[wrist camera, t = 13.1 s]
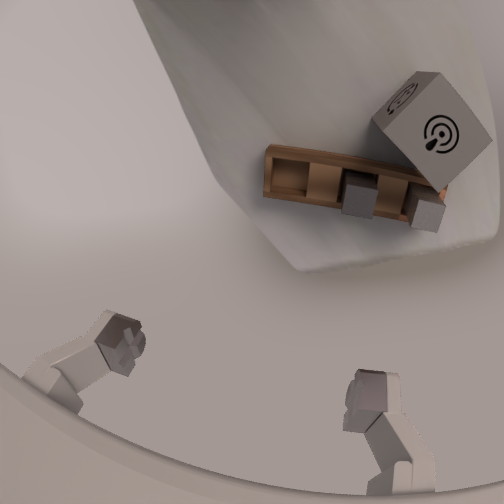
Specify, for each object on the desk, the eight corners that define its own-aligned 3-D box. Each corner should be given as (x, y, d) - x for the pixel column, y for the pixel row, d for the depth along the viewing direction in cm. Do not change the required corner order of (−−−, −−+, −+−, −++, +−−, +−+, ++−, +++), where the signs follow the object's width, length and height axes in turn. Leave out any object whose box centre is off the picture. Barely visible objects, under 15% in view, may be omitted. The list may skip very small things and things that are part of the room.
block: (345, 166, 41) (346, 184, 35) (372, 172, 40) (378, 190, 34) (340, 192, 43) (341, 213, 37) (367, 197, 42) (371, 219, 37)
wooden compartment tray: (270, 144, 43) (265, 150, 40) (441, 176, 38) (448, 184, 35) (267, 187, 47) (263, 196, 44) (429, 217, 42) (434, 227, 39)
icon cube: (418, 166, 39) (438, 193, 31) (371, 117, 37) (382, 131, 29) (462, 124, 33) (492, 140, 25) (416, 71, 31) (440, 72, 23)
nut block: (407, 180, 39) (419, 199, 33) (431, 185, 38) (446, 206, 33) (401, 204, 41) (410, 227, 36) (424, 209, 41) (437, 233, 35)
